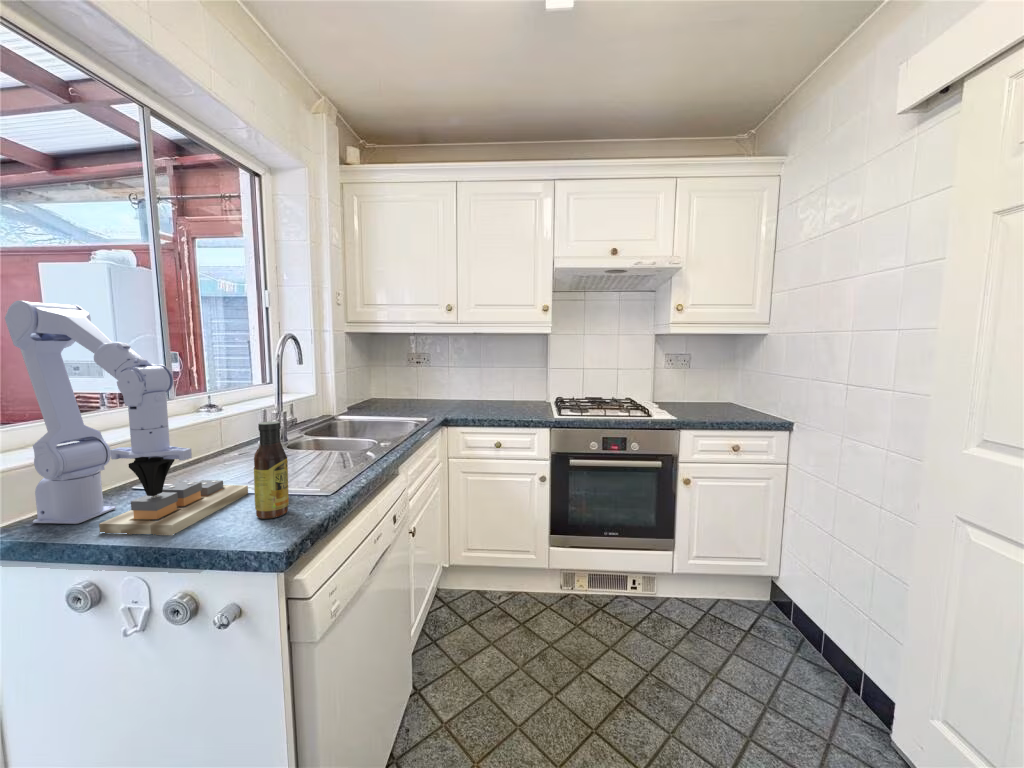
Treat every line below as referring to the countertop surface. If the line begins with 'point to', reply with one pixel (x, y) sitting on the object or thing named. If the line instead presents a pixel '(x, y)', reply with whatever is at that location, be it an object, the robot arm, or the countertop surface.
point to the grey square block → (154, 505)
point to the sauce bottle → (270, 473)
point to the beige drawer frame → (175, 514)
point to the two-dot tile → (185, 492)
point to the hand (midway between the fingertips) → (154, 494)
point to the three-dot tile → (211, 487)
